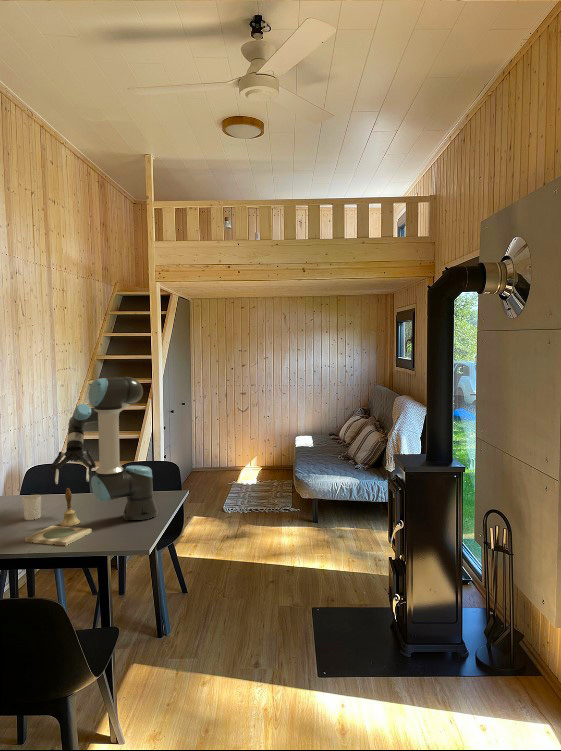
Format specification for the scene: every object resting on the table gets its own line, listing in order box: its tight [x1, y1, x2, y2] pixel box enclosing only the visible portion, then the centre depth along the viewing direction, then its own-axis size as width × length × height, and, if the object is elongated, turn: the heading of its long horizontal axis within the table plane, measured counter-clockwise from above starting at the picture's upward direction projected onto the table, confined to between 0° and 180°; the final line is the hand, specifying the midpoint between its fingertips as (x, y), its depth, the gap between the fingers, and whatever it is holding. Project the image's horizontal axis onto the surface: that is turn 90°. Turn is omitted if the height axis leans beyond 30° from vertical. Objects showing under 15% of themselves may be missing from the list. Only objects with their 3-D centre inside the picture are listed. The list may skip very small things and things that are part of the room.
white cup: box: [22, 494, 42, 521], centre depth 252 cm, size 8×8×10 cm
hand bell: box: [59, 487, 81, 527], centre depth 242 cm, size 8×8×16 cm
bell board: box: [24, 525, 93, 547], centre depth 225 cm, size 20×16×2 cm
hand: (71, 481), depth 252 cm, fingers open, 13 cm apart
